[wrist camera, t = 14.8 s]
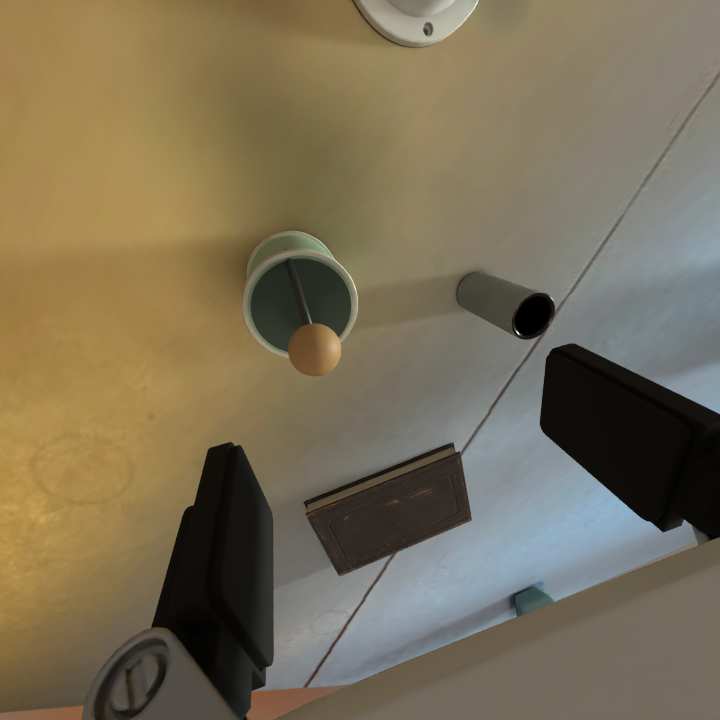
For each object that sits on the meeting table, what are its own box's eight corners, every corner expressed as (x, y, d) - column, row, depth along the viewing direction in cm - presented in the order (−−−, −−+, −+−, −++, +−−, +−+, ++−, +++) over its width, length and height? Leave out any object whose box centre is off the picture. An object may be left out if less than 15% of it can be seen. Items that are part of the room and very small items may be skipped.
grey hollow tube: (461, 315, 41) (516, 348, 32) (452, 282, 38) (507, 306, 29) (494, 299, 41) (558, 327, 32) (486, 264, 39) (553, 283, 30)
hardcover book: (304, 501, 47) (305, 515, 45) (452, 442, 49) (460, 452, 47) (337, 564, 55) (340, 578, 53) (465, 511, 57) (472, 522, 55)
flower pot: (542, 597, 77) (573, 643, 69) (508, 613, 76) (535, 661, 68) (542, 577, 73) (575, 622, 65) (506, 593, 72) (535, 641, 64)
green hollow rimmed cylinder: (263, 328, 36) (232, 242, 31) (344, 307, 37) (326, 221, 32) (265, 442, 21) (205, 310, 16) (401, 400, 22) (383, 266, 17)
